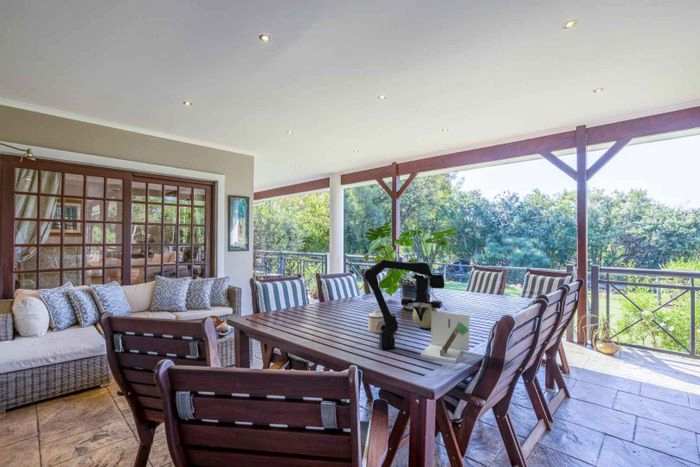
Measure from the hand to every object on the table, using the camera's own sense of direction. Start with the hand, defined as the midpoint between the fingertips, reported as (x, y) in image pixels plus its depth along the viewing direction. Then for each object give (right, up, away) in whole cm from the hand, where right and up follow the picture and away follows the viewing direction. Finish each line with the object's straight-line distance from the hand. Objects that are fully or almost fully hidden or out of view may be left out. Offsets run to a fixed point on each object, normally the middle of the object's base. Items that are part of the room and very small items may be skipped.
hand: (421, 320), depth 166 cm
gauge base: (+9, -13, -9) cm, 18 cm away
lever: (+7, -11, -13) cm, 18 cm away
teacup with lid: (-19, -13, +30) cm, 38 cm away
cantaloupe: (+10, -14, +38) cm, 42 cm away
